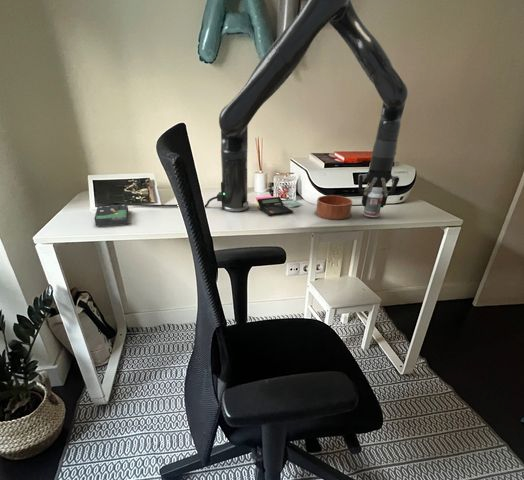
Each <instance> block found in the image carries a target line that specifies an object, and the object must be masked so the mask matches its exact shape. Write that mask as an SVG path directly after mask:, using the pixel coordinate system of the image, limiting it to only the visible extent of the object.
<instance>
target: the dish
mask: <svg viewBox="0 0 524 480" xmlns="http://www.w3.org/2000/svg"><path fill="white" fill-rule="evenodd" d="M352 206H353V200H352V199H351V198H348V197H346V196H342V195H322V196H319V197H317V200H316V208H315V213H316V215H317V216H318V217H320V218H323V219H328V220H334V221H335V220H336V221H337V220H344V219H348V218H349V217H350V216H351V212H352Z"/></svg>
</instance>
